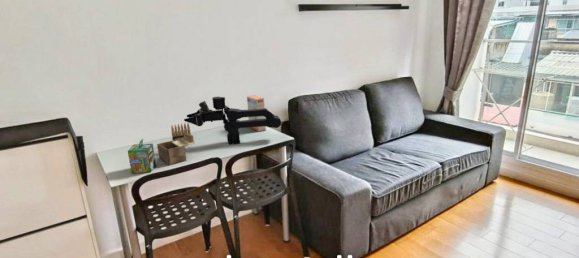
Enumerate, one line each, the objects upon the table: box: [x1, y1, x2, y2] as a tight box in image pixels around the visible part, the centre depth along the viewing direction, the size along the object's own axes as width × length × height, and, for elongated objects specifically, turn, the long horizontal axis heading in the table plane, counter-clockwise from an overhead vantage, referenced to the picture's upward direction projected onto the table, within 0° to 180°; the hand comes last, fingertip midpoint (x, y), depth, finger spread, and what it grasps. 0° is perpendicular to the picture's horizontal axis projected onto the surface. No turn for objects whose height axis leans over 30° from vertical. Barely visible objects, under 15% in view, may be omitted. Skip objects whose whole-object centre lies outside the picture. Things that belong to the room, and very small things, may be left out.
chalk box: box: [127, 138, 157, 174], centre depth 162 cm, size 9×9×15 cm
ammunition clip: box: [170, 122, 192, 141], centre depth 198 cm, size 11×2×12 cm, turn 116°
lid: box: [171, 132, 196, 147], centre depth 176 cm, size 8×11×4 cm
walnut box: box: [156, 139, 187, 167], centre depth 174 cm, size 9×13×8 cm
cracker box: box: [246, 94, 267, 133], centre depth 220 cm, size 14×6×21 cm, turn 30°
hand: (185, 117), depth 190 cm, fingers open, 9 cm apart
